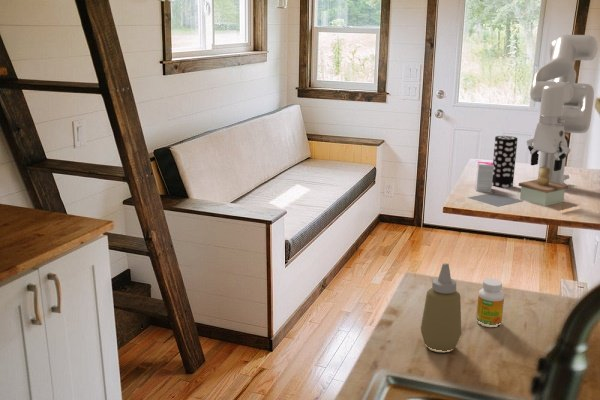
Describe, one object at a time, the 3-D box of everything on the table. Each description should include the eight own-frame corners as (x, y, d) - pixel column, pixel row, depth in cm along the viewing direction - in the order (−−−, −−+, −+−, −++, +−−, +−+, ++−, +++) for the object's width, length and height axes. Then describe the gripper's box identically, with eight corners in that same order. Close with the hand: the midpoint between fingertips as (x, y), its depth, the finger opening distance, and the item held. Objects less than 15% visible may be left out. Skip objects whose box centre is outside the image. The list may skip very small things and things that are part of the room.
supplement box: (491, 194, 246) (494, 165, 243) (475, 193, 247) (477, 164, 244) (490, 190, 251) (492, 161, 248) (474, 189, 252) (477, 161, 249)
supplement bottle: (477, 327, 139) (480, 285, 137) (474, 316, 144) (478, 276, 142) (502, 329, 139) (507, 287, 136) (499, 318, 144) (503, 278, 141)
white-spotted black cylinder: (487, 187, 256) (491, 137, 251) (496, 183, 262) (501, 135, 256) (506, 191, 251) (511, 140, 245) (516, 187, 256) (521, 137, 251)
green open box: (538, 197, 242) (539, 182, 240) (563, 204, 233) (565, 188, 232) (519, 201, 236) (521, 185, 234) (544, 208, 228) (546, 192, 226)
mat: (493, 194, 245) (493, 192, 245) (523, 203, 234) (524, 200, 234) (467, 200, 238) (467, 197, 237) (497, 209, 226) (498, 206, 226)
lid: (539, 181, 241) (541, 163, 239) (567, 188, 231) (570, 169, 230) (518, 185, 235) (520, 167, 233) (546, 193, 225) (549, 173, 223)
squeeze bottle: (415, 338, 134) (420, 257, 130) (452, 337, 135) (459, 256, 130) (425, 357, 127) (431, 272, 122) (465, 356, 127) (472, 271, 122)
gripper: (579, 123, 222) (573, 171, 227) (536, 115, 235) (532, 161, 241) (565, 125, 218) (560, 174, 223) (523, 118, 232) (518, 164, 237)
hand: (545, 167), depth 232 cm, fingers open, 9 cm apart
